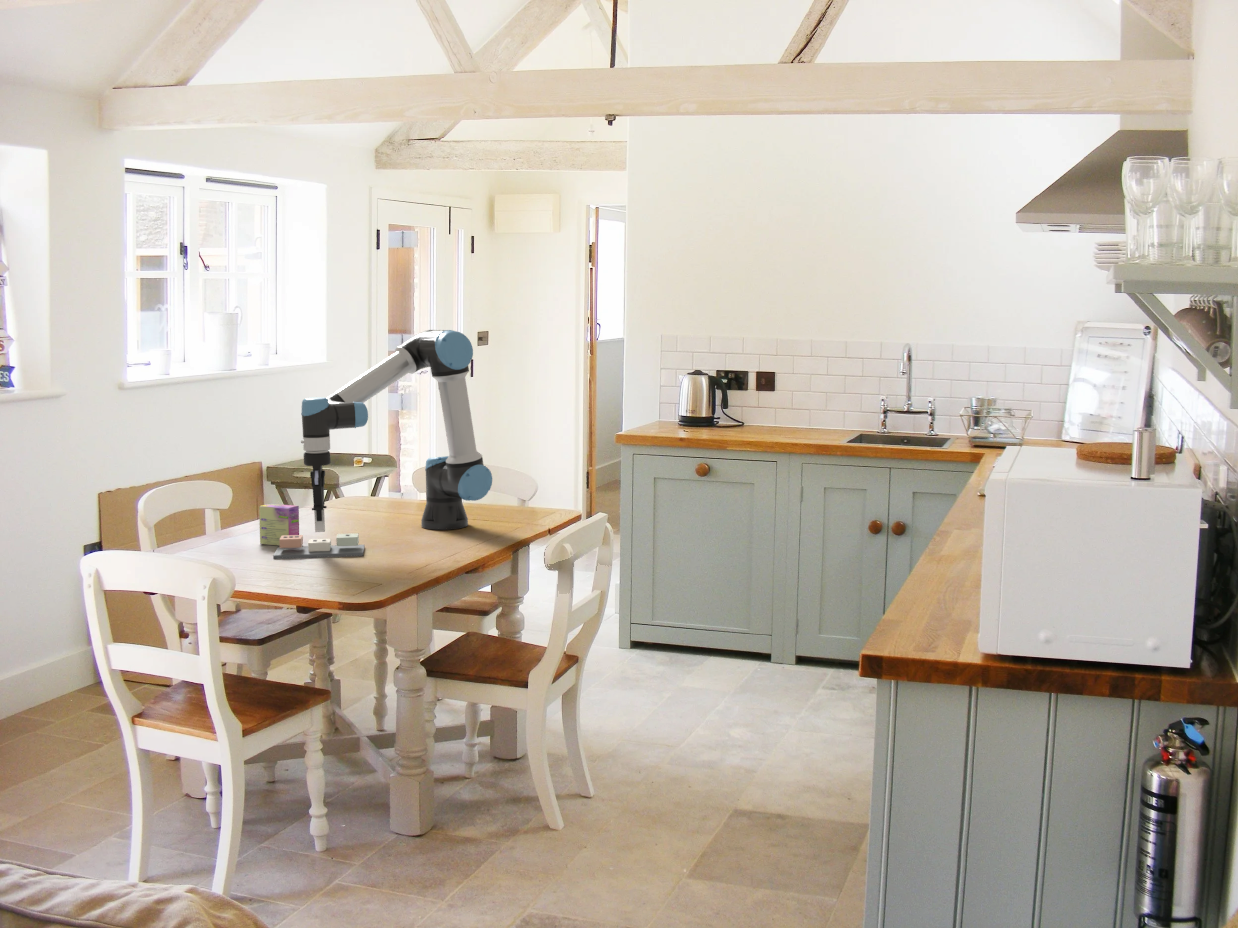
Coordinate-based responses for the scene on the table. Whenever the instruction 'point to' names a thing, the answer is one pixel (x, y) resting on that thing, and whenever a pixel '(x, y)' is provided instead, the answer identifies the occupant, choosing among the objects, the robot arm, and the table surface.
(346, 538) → the tile one
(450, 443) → the robot arm
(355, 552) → the keypad board
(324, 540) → the tile two
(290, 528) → the box
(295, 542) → the tile three
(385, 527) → the table surface
